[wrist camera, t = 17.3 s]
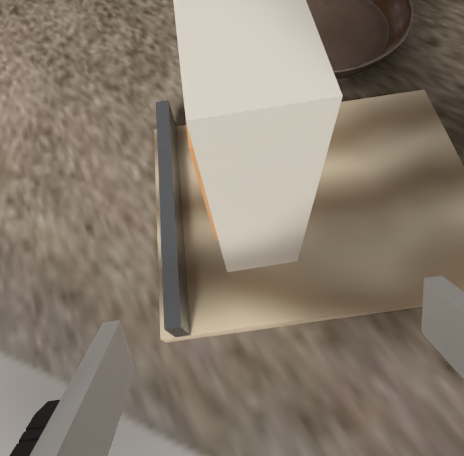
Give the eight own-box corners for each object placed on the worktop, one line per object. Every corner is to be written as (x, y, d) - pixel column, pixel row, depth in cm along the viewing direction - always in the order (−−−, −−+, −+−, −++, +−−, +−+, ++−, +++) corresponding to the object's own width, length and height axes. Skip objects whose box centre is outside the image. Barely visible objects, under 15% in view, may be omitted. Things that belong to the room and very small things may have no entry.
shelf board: (158, 140, 32) (154, 129, 31) (417, 102, 32) (424, 89, 30) (166, 342, 24) (160, 339, 23) (511, 294, 24) (526, 288, 22)
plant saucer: (231, 100, 34) (228, 74, 31) (234, -10, 42) (232, -39, 39) (418, 93, 33) (433, 65, 30) (386, -19, 40) (395, -50, 37)
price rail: (162, 128, 31) (153, 102, 28) (176, 126, 31) (168, 100, 28) (172, 337, 23) (160, 330, 20) (190, 335, 23) (181, 327, 20)
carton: (271, 149, 29) (280, -68, 15) (297, 261, 24) (342, 95, 11) (208, 159, 29) (161, -48, 15) (222, 273, 24) (176, 122, 11)
